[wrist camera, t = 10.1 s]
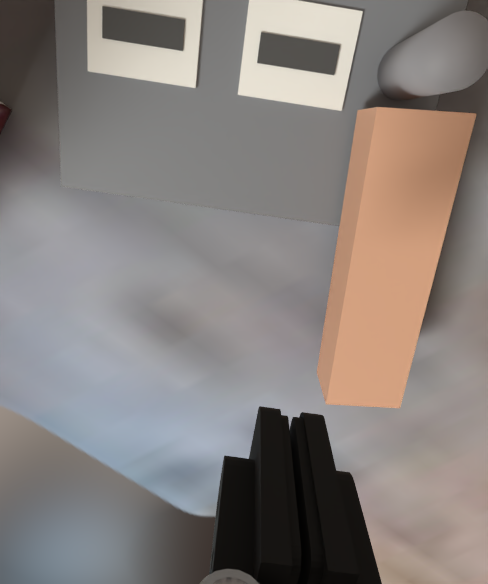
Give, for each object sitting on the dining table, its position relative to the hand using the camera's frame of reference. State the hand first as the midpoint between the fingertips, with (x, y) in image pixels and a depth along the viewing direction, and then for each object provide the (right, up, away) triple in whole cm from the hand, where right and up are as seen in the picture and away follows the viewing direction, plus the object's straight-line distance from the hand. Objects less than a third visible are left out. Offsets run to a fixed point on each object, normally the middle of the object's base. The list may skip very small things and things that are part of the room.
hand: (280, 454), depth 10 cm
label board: (-1, +14, +9) cm, 17 cm away
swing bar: (+6, +6, +11) cm, 14 cm away
